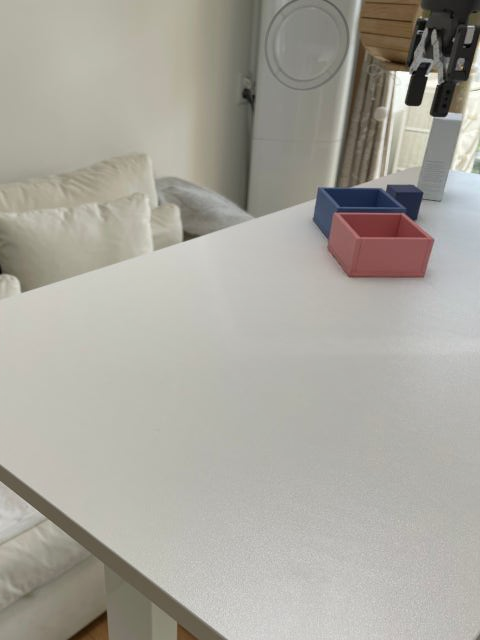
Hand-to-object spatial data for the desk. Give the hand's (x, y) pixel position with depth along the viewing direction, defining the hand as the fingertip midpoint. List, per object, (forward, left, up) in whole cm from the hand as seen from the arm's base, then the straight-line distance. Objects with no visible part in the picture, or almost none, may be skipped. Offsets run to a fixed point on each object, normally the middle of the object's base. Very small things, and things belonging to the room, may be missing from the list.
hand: (424, 111), depth 88 cm
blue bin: (+9, +7, -14) cm, 18 cm away
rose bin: (+10, +18, -14) cm, 25 cm away
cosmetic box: (-9, -11, -15) cm, 20 cm away
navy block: (0, 0, -14) cm, 14 cm away
